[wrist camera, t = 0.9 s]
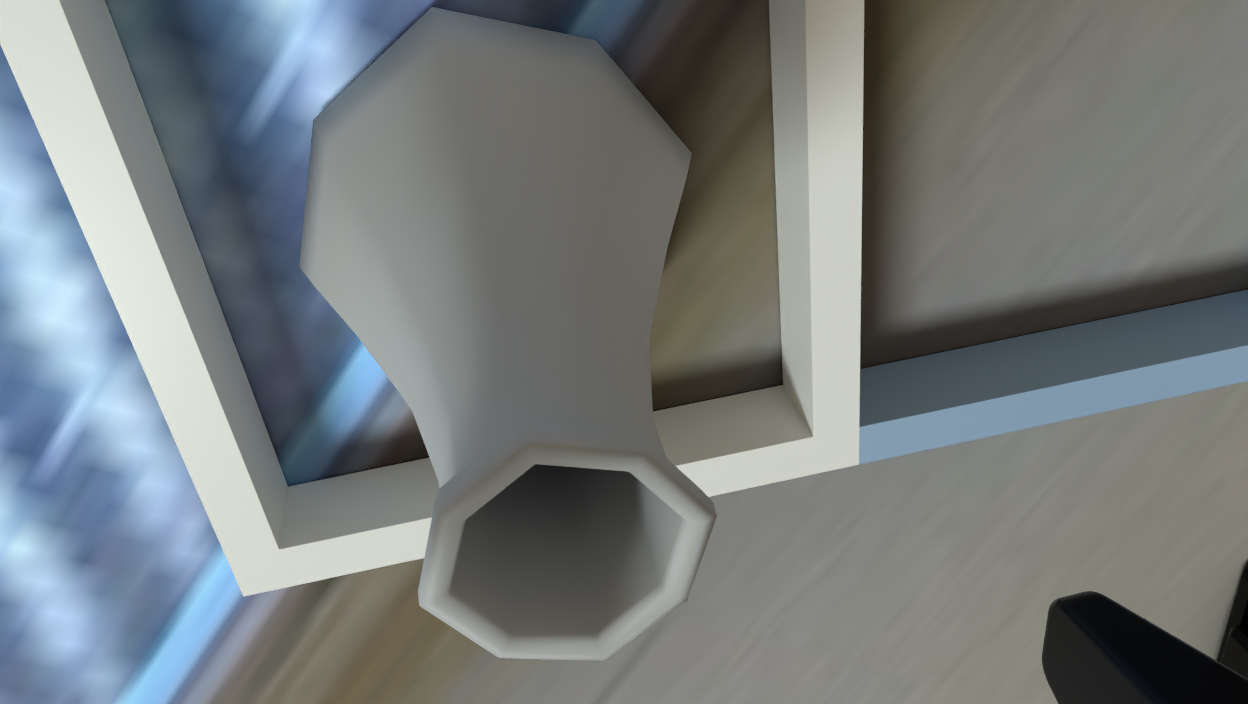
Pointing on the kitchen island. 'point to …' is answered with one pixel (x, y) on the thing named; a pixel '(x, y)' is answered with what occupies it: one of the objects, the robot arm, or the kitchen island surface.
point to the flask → (516, 321)
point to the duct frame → (690, 434)
